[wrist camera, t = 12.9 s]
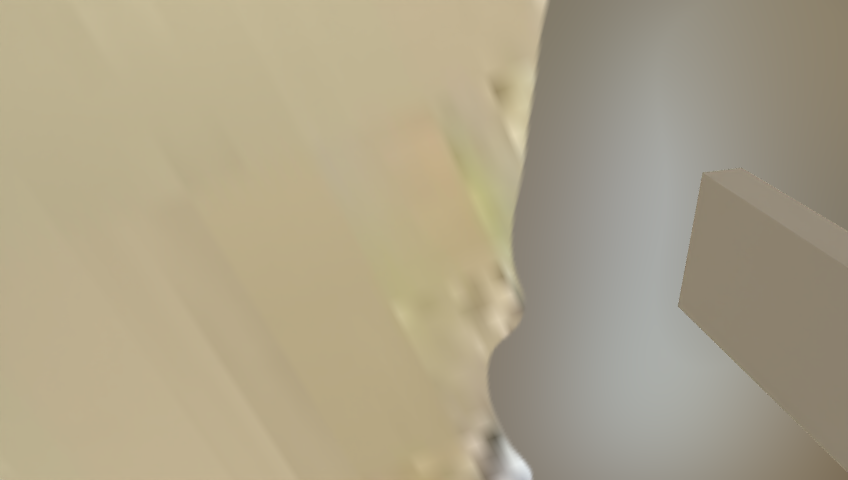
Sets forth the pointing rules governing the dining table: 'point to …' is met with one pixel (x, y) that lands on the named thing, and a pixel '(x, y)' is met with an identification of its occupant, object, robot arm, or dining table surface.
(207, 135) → the dining table surface
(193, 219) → the dining table surface
